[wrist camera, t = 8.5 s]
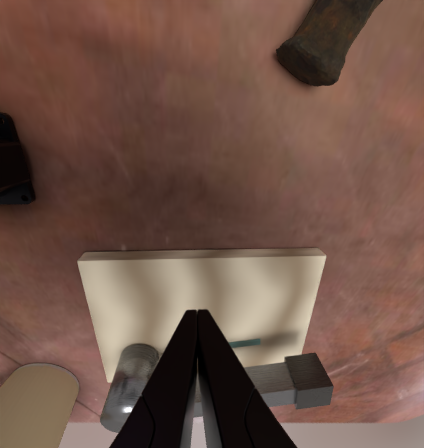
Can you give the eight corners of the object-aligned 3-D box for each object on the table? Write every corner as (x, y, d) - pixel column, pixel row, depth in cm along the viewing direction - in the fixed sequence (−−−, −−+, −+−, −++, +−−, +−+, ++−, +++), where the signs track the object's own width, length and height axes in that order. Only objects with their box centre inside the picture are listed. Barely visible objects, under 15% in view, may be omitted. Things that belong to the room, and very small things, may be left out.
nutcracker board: (112, 369, 27) (97, 413, 22) (85, 252, 20) (57, 283, 16) (291, 359, 28) (308, 398, 24) (318, 247, 22) (346, 275, 18)
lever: (125, 372, 24) (106, 440, 19) (115, 347, 23) (92, 413, 18) (300, 349, 25) (328, 409, 20) (302, 323, 24) (334, 380, 18)
